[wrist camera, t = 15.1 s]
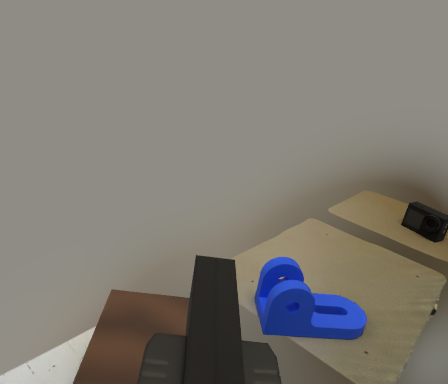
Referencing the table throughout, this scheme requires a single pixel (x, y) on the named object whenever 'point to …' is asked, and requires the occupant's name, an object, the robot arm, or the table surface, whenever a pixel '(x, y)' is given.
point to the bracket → (303, 306)
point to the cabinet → (129, 335)
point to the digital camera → (426, 221)
